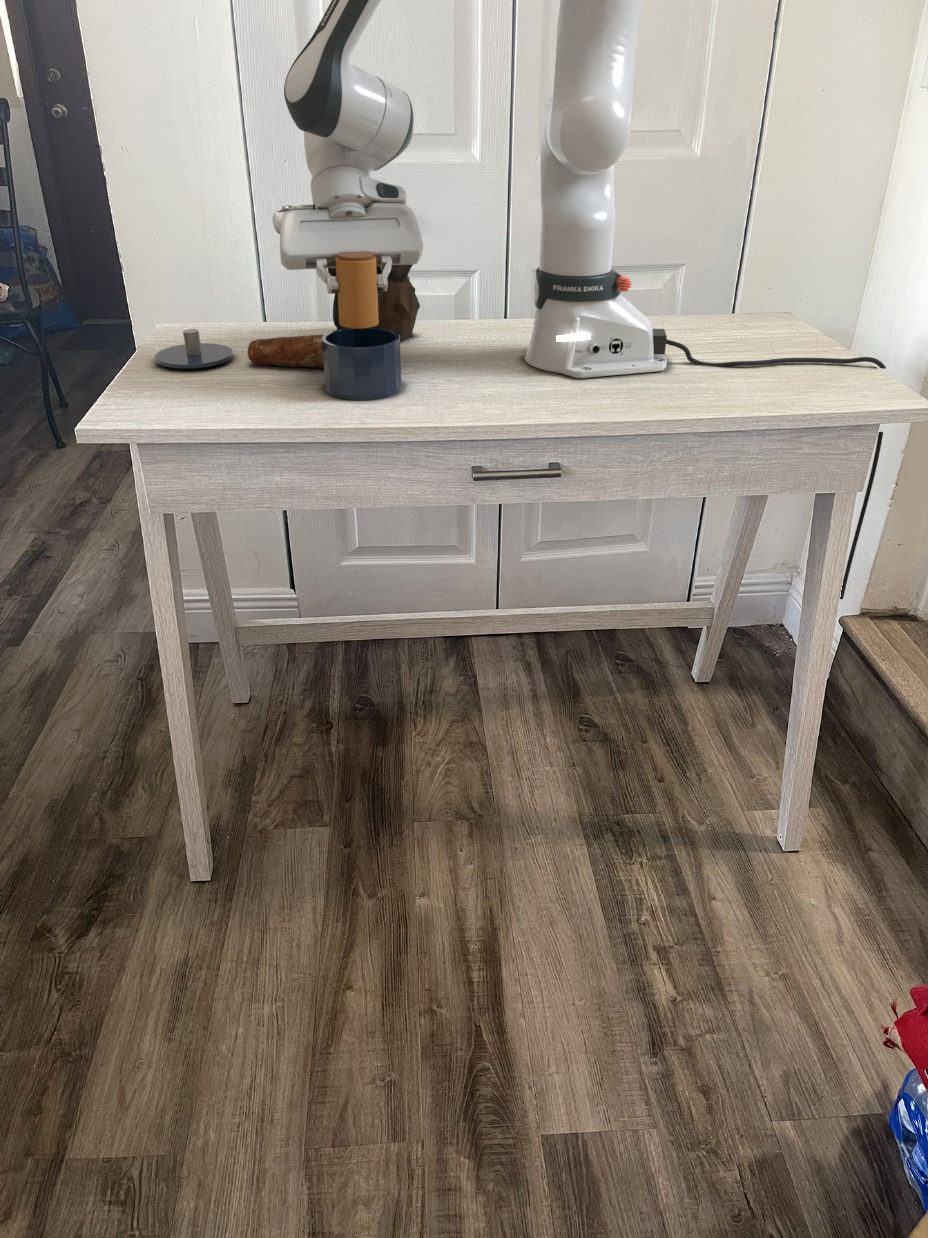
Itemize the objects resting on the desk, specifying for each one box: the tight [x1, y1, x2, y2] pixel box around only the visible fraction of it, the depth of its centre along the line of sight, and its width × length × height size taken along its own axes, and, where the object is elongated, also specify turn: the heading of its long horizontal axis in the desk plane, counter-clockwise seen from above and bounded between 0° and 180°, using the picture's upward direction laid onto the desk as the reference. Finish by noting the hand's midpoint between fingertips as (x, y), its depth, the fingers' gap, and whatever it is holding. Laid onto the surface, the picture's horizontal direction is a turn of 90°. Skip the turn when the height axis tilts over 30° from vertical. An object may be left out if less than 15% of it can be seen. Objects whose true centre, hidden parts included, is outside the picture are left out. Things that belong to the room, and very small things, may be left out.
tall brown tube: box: [336, 251, 379, 329], centre depth 133 cm, size 6×6×10 cm
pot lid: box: [154, 328, 234, 370], centre depth 151 cm, size 12×12×5 cm
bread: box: [247, 333, 326, 369], centre depth 148 cm, size 6×19×6 cm, turn 80°
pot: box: [322, 327, 402, 401], centre depth 138 cm, size 11×11×8 cm
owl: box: [327, 265, 421, 342], centre depth 158 cm, size 13×13×20 cm
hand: (358, 290), depth 132 cm, fingers closed on tall brown tube, 5 cm apart
